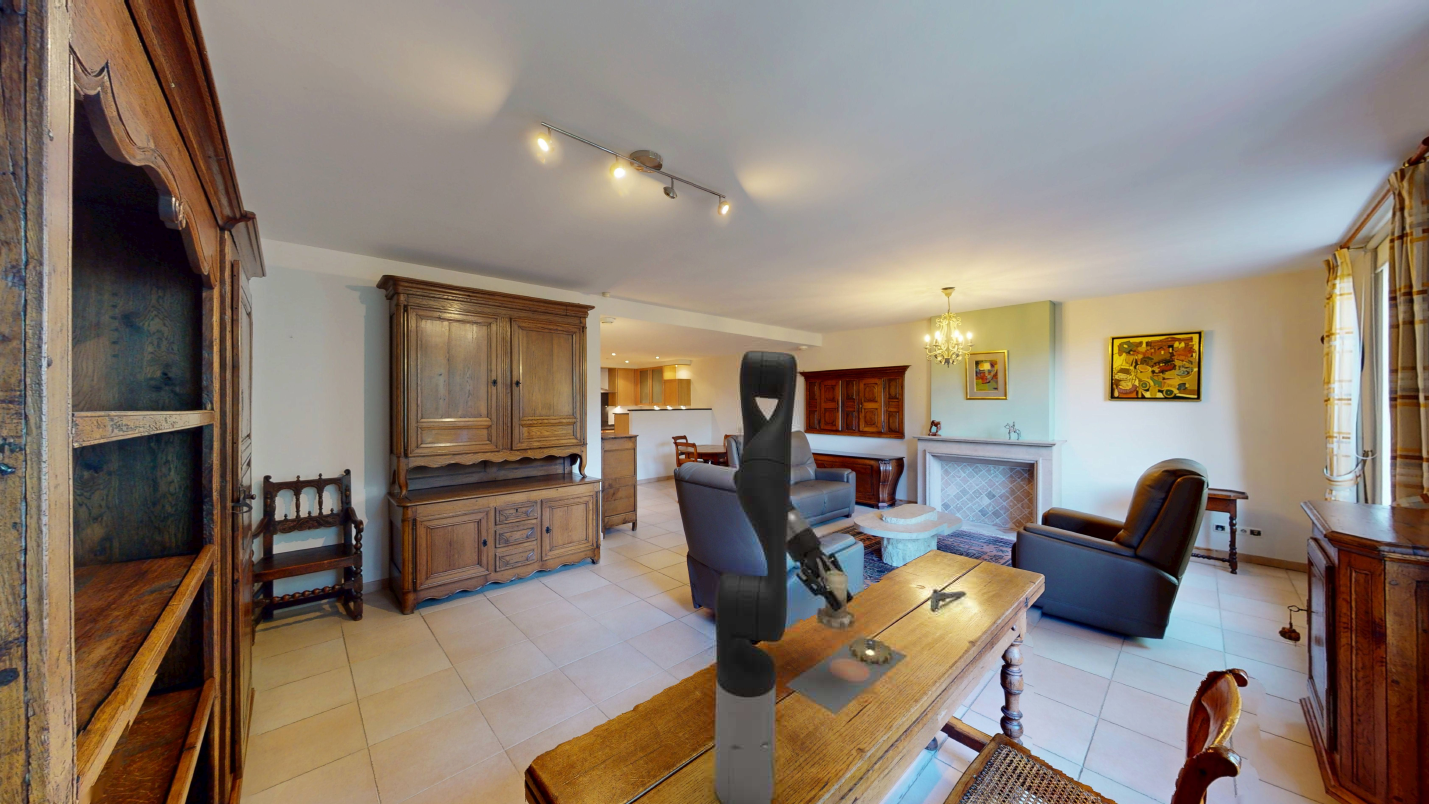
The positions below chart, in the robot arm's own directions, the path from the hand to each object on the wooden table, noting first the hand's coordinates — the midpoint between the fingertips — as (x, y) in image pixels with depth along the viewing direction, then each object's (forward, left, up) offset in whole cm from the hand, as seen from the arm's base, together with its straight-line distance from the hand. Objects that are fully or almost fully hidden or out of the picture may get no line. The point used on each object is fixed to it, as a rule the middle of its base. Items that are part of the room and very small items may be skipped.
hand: (844, 605), depth 99 cm
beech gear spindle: (+1, +1, -4) cm, 5 cm away
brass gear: (+9, -11, -16) cm, 22 cm away
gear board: (+4, -3, -18) cm, 19 cm away
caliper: (+36, -49, -18) cm, 64 cm away
